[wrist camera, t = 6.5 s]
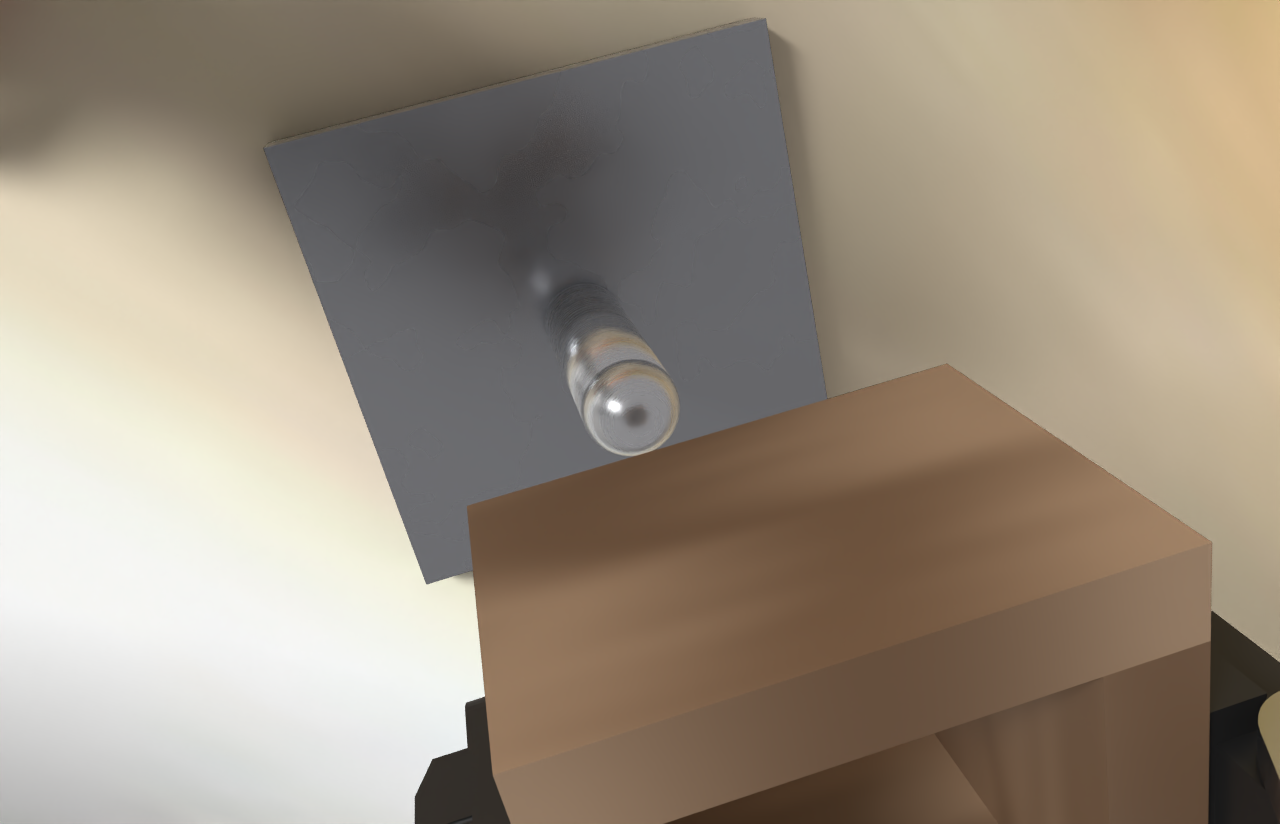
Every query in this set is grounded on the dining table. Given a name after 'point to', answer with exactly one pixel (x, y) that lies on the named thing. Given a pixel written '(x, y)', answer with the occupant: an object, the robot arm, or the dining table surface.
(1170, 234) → the dining table surface
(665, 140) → the grey square base plate
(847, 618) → the collar
